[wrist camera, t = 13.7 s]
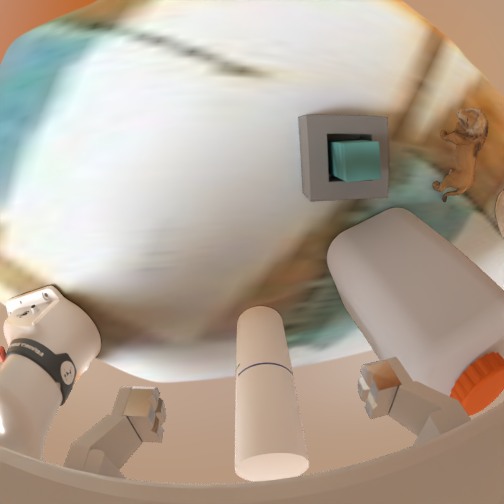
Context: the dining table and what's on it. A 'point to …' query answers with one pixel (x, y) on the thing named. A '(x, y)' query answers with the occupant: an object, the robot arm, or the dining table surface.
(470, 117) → the lion figurine
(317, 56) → the dining table surface
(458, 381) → the plastic bottle
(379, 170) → the teal pin
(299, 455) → the cylindrical container
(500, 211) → the lidded bowl
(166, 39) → the dining table surface
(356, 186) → the bore block
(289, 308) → the dining table surface
